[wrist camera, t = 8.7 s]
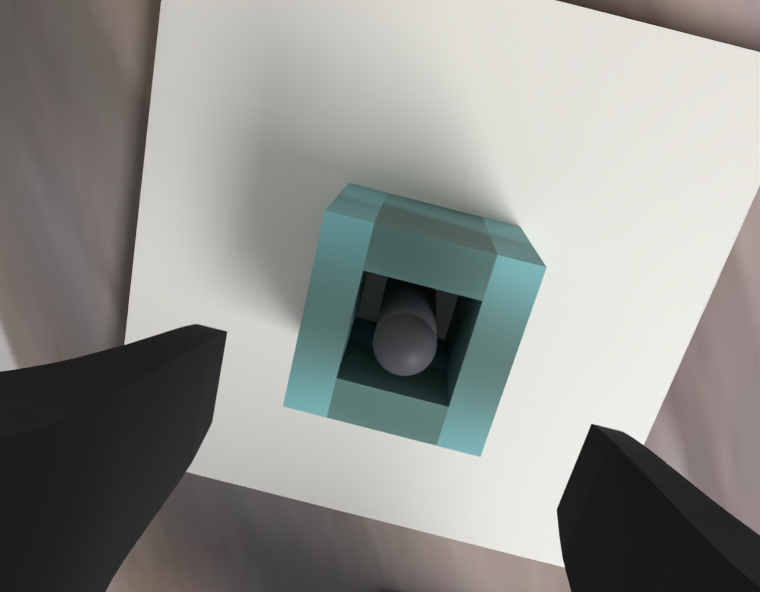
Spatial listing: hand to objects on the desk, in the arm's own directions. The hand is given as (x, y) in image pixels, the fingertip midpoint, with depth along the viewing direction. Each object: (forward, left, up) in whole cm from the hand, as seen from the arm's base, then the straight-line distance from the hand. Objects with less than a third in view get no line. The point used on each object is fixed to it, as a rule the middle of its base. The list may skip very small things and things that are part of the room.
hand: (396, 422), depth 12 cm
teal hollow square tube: (0, 0, -8) cm, 8 cm away
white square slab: (0, 0, -9) cm, 9 cm away
